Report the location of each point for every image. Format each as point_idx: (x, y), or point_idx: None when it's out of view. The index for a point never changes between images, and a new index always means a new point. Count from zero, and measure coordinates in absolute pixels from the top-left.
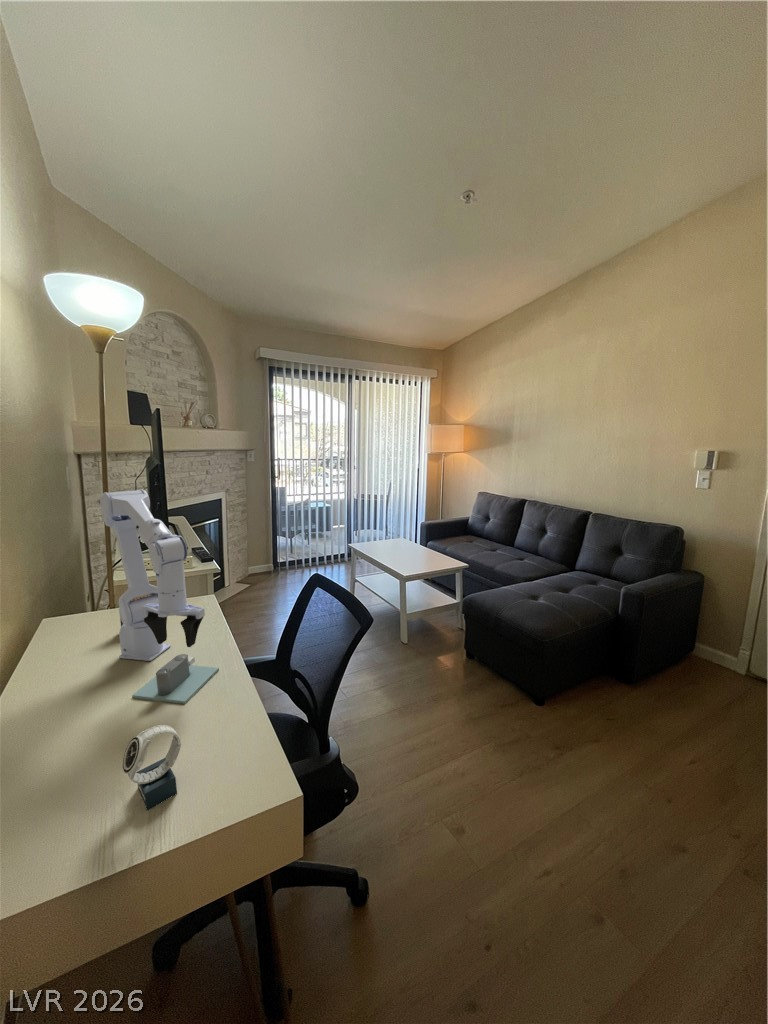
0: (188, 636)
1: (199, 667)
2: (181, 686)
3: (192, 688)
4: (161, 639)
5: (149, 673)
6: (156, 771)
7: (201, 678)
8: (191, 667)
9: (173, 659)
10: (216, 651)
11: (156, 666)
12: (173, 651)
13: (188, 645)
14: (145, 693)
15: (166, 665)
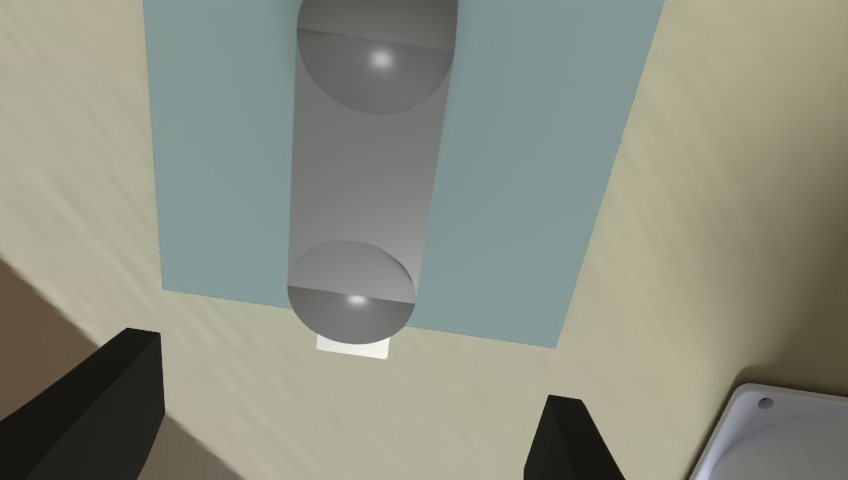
0: (2, 430)
1: None
2: None
3: (193, 34)
4: (546, 452)
5: (683, 249)
6: None
7: (208, 167)
8: None
9: (404, 261)
10: (323, 466)
11: (668, 327)
12: (623, 475)
13: (120, 339)
14: None
15: (416, 161)
